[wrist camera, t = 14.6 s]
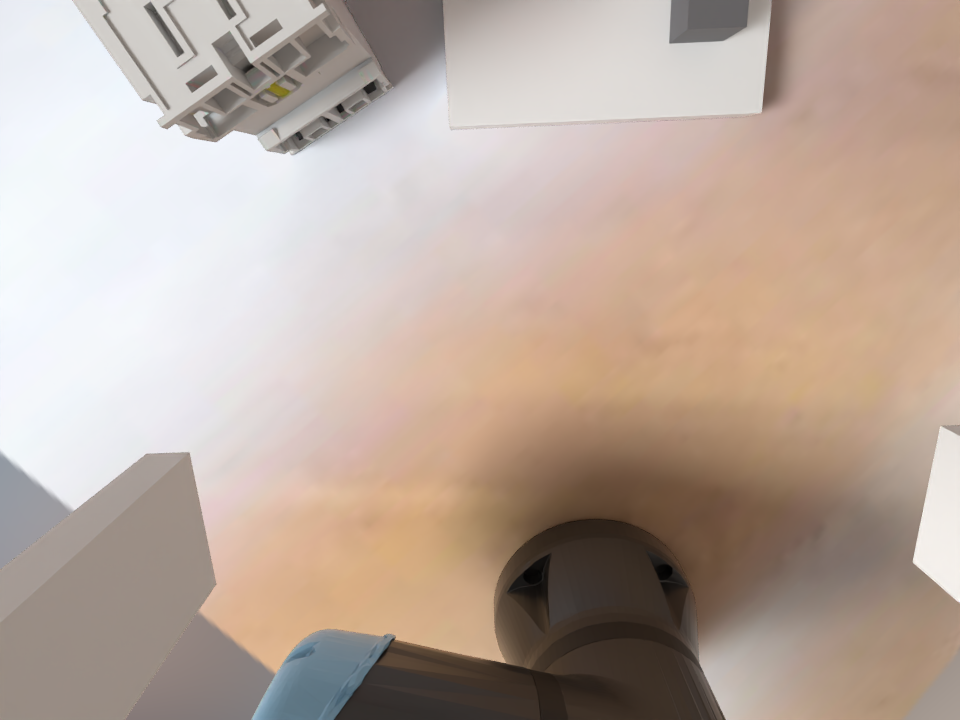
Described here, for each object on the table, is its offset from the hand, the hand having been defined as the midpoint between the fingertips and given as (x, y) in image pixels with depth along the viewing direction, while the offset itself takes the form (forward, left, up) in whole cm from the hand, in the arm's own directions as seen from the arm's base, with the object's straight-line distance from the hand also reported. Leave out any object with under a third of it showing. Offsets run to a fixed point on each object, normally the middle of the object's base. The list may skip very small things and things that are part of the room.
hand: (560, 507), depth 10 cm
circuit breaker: (+16, +13, -29) cm, 35 cm away
